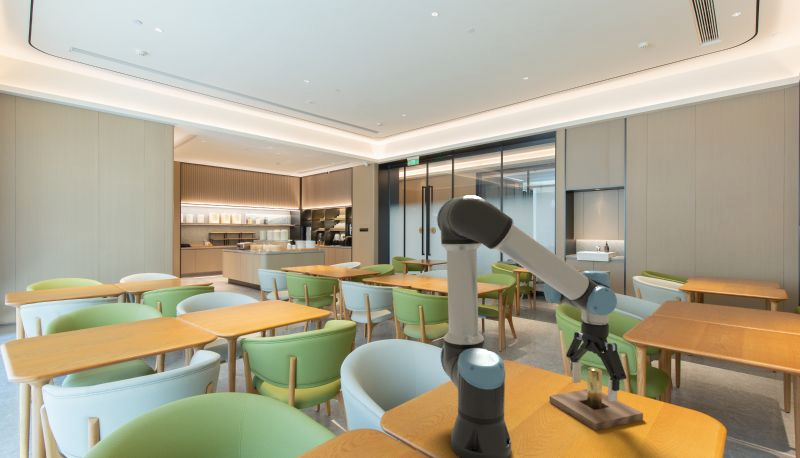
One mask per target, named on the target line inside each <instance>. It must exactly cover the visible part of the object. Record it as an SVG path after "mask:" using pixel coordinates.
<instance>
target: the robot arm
mask: <svg viewBox="0 0 800 458" xmlns="http://www.w3.org/2000/svg"><path fill="white" fill-rule="evenodd" d="M436 223H437V227H438V229H439V231H440V239H441V246H442V247H443V248H444V249H445V250H446V271H447V272H446V275H447V276H446V277H447V308H448V309H447V313H448V331H447V332H446V334H445V335H444V336H443V346H441V347H442V348H441V350H440V363H441V366H442V369H443V370H444V373H445V374H446V375H447V376H448V378H449V379H450V380H451V382H452V383H453V385H454V386H455V388H456V389H457V415H456V418H455V421H454V424H453V427H452V431H451V432H450V433H451V434H450V447H451V449H452V451H453V450H454V451H453V452H454V453H455V455H457V456H458V455H459V456H458V457H459V458H461V457H462V458H509V457H511V454H512V440H511V436H510V433H509V430H508V427H507V423H506V421H505V420H506V419H505V395H506V393H505V388H506V383H505V382H506V369H505V362H504V360H503V359H502V357H501V356H500V355H499V354H497V353H496V352H494V351H492V350H491V351H489V350H488V349H486V348H485V337H484V336H483V335H482V334H481V333H480V332H479V302H478V301H479V299H478V297H479V296H478V294H479V293H478V262H477V261H478V259H477V257H478V256H477V250H478V248H479V247H481V246H482V245H484V246H485V247H486V248H487V249H489V250H495V249H496V250H498V251H499V252H501V253H502V254H503V255H505V256H506V257H508V258H509V259H511V261H514V262H515V263H517V264H518V265H519V266H521V267H522V268H523V269H525V270H527V271H528V272H530V273H531V274H532V275H534V276H535V277H536V278H538V279H540V280H541V281H543V282H544V284H543V294H544V297H545V300H546V301H548V303H551V304H566V305H568V306H571V307H573V308H577V309H579V310H581V314H580V315H581V317H580V318H581V320H582V321H581V322H580V323H581V324H580V326H581V327H580V331H574V334H573V338H572V339H573V340H572V341H571V343H570V346H569V348H568V350H567V352H566V354H565V357H566V358H568V359H569V360H570V361H571V363H570V364H571V365H570V366H571V367H570V370H571V371H572V375H571V377H572V378H571V382H572V383H573V384H577V383H581V379H582V378H581V371H582V368H581V367H582V365H581V364H582V362H581V358H583V356H584V355H585V354H586V353H587V352H592V353H593V354H595V355H597V357H599V358H600V360H601V362H602V363H603V365H604V368H605V369H606V371H607V374H608V375H609V376H610V377H608V381H607V383H608V385H607V395H608V401H609V402H612V401H617V400H618V392H619V391H620V384H621V383H620V381H622V380H626V379H627V375H626V372H625V368H624V365H623V364H622V360H621V357H620V354H619V351H618V344H617V343H615V342H608V340H607V339H608V336H609V335H610V334H609V332H610V331H609V329H610V325H609V324H608V323H609V322H610V315H611V313H613V312H614V310H615V309H616V307H617V305H618V304H617V303H618V297H617V295H616V293H615V292H614V291H613V289H611V278H610V274H609V273H608V272H606V271H603V270H602V271H601V270H584V271H583V272H580V271H579V270H577V269H576V268H575V267H573V266H572V265H571V264H569V263H567V262H566V261H565V260H563V259H562V258H561V257H559V256H558V255H556V254H555V253H554V252H553V251H551V250H549V248H547V247H545V246H544V245H542V244H541V243H539V242H538V241H537V240H536V239H534V238H533V237H531V236H530V235H528V234H527V233H526V232H525V231H523V230H521V228H519V227H517V226H516V225H514V224H515V223H514V220H513V218H511V217H510V215H508V214H506V213H505V212H503V210H501V209H499V208H498V207H497V206H495V204H492V203H491V202H489V201H488V200H486V199H485V198H482V197H480V196H479V195H478V196H477V195H471V194H470V195H463V196H459V197H453V198H451V199H448V200H447V201H446V202H445V203H443V204H442V205H441V207H440V208H439V210H438V212H437V216H436ZM582 342H583V343H582Z"/></svg>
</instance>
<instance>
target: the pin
mask: <svg viewBox="0 0 800 458" xmlns="http://www.w3.org/2000/svg"><path fill="white" fill-rule="evenodd" d="M586 370H587V374H586V375H587V377H586V379H587V380H586V382H587V383H586V384H587V385H586V389H587V406H588V407H590V408H592V409H594V410H597V409H602V393H603V370H602V369H600V368H598V367H593V366H592V367H591V366H590V367H588V368H587V369H586Z"/></svg>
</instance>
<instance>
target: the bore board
mask: <svg viewBox="0 0 800 458" xmlns="http://www.w3.org/2000/svg"><path fill="white" fill-rule="evenodd" d="M549 403H550V404H552V405H553V406H554V407H557V408H558V409H560V410H562V411H563V412H565V413H567V414H568V415H569V416H571V417H573V418H574V419H576V420H577V421H579V422H581V423H582V424H584V425H585V426H587V427H589V428H590V429H592V430H594V431H601V430H606V429H608V428H609V429H610V428H612V427H613V428H614V427H618V426H622V425H626V424H627V425H628V424H630V423H631V424H632V423H635V422H639V421H643V420H644V413H643V412H642V411H640V410H638V409H636V408H634V407H632V406H630V405H628V404H625V403H624V402H622V401H620V400H618V399H617V401H612V402H609V401H608V394H605V393H604V392H602V409H597V410H594V409H592V408H590V407H588V406H587V388H586V389H580V390H575V391H570V392H568V391H567V392H564V393H558V394H552V395H549Z"/></svg>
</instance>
